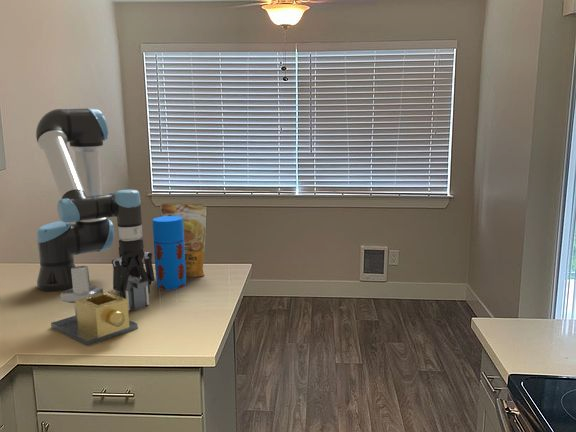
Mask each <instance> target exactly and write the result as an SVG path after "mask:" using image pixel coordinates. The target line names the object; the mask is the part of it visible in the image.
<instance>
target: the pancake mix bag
mask: <svg viewBox="0 0 576 432" xmlns="http://www.w3.org/2000/svg"><path fill="white" fill-rule="evenodd" d="M158 207H159V212H160V213H159V214H160V216H159V217H164V216H179V217H182V219H183V230H184V248H185V265H186V278H188V277H189V278H198V276H199V277H203V276H205V274H204V273H205V272H204V269H203V267H204V261H205V249H206V237H207V225H208V223H207V222H208V213H209V212H208V207H207V206H205V204H201V203H200V204H196V203H195V204H194V203H191V204H190V203H162V204H160V205H159V206H158ZM187 276H188V277H187Z"/></svg>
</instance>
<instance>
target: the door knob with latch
mask: <svg viewBox="0 0 576 432" xmlns="http://www.w3.org/2000/svg"><path fill="white" fill-rule="evenodd" d="M71 273H72V284H73V287H72V288H69V289H65V290H63V291H62V292H61V293H60V300H61V301H62V302H64V303H70V304H74V312H75V313H74V314H75V315H72V316H70V317H66V318H63V319H59V320H56V321H51V322H50V326H51V329H53V330H56V332H57V331H58V332H59V333H62V334H63V335H65V336H67V337H69V338H71V339H73V340H75V341H77V342H79V343H81V344H83V345H84V346H87V347H88V346H92V345H95V344H98V343H100V342H102V341H105V340H106V341H107V340H109V339H111V338H114V337H118V336H120V335H123V334H125V333H128V332H131V331H134V330H137V329H138V326H139V325H138V323H137V322H135V321H132V320H130V316H129V311H128V301H127V299H126V298H123V297H120V295H117V294H115V293H112V292H109V291H104V288H102V287H101V286H96V285H91V284H90V283H91V282H90V271H89V266H87V265H80V266H76V267H73V268H71Z"/></svg>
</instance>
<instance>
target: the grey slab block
mask: <svg viewBox="0 0 576 432" xmlns="http://www.w3.org/2000/svg"><path fill="white" fill-rule="evenodd" d="M145 286H148V281H146V280H143V279H141V277H140V278H137V277H134V276H131V275H130V276H129V278H128V282H127V287H126V291H128V296H129V309H130V310H132V311H135V312H136V311H138V310H142V309H145V308H146V304H145V293H144V287H145Z"/></svg>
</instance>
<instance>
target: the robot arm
mask: <svg viewBox="0 0 576 432" xmlns="http://www.w3.org/2000/svg"><path fill="white" fill-rule="evenodd" d="M35 130H36V131H35V138H36V142H37V144H38V147H39V148H40V149H41V150H42V151H43V152H44V155H45V157H46V160H47V163H48V166H49V168H50V172H51V174H52V177H53V179H54V183H55V185H56V187H57V191H58V193H59V195H60V199H59V200H57V204H56V205H57V207H56V209H57V214H58V218H59V220H60V221H59V220H58V221H53V222H50V223H47V224H44V225H42V226H40V227H38V229H37V231H36V237H37V238H36V242H37V249H38V256H39V264H40V266H39V272H38V274H37V279H36V287H37V290H39V291H45V292H55V291H65V290H68V289H72V288H73V284H72V273H71V268H73V267H77V266H76V264H75V259H74V258H75V257H74V256H76V255H77V256H78V255H84V254H90V253H96V252H97V253H98V252H102V251H106V250H109V249H110V248H111V246H112V245H113V243H114V239H115V238H114V237H115V229H114V224H113V222H112V220H111V219H108V218H114V217H116V221H117V224H116V225H117V235H118V239H119V240H118V250H119V249H120V253H121V254H120V258H119V257H118V258H117V259H112V260H111V264H112V269H113V271H112V274H113V275H112V289H113V291H116V292H118V293H119V296H120V297H123V298H126V299H127V301H128V312H129V311H130V310H131V309H129V296H128V291H126V287H127V282H128V278H129V273H130V271H131V269H132V267H134V266H136V267H137V270H138V272H139V274H140V279H143V280H146V281H148V286H145V287H144V293H145V306H147V305H150V299H149V297H150V296H149V294H150V293H151V286H152V284H153V283H152V282H155V280H156V279H155V278H156V277H155V273H154V267H153V262H152V261H153V260H152V259H153V253H152V252H148V251H144V248H145V247H144V239H143V237H144V236H143V221H142V220H143V219H142V218H143V217H142V204H141V203H142V201H141V195H140V192H139V191H138V190H137V189H121V190H117V191H115V192H108V193H106V194H103V189H102V176H101V157H100V150H101V149H102V148H103V147H104V141H107V140H108V138H109V126H108V123H107V120H106V117H105V115H104V113H103V112H102V111H101V110H100V109H97V108H88V107H86V108H56V109H52V110H49V111H48V112H47V113H45V114H44V115H43V116H42V117H41V118H40V120H39V121H38V123H37V127H36V129H35ZM68 143H69V147H70V148H71V149H72V150H73V151H74V159H75V161H74V160H73V157H72V155H71V152H70V149H69V148H68V145H67V144H68ZM74 162H75V163H74ZM72 223H73V224H72ZM143 261H144V262H143ZM121 262H122V263H123V266H122V269H123V270H122V274H121V266H120V265H121ZM127 267H128V268H127Z"/></svg>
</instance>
